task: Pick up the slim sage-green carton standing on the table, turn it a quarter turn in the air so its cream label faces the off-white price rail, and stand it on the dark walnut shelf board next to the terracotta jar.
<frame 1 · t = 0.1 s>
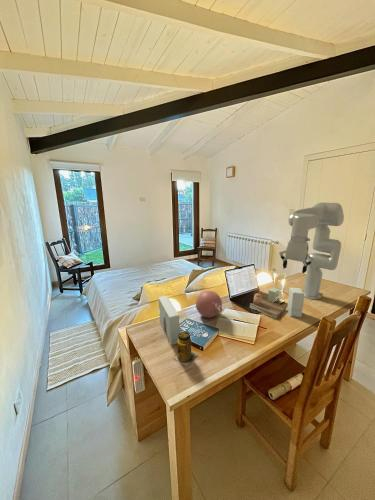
hand: (293, 270, 114), 31 cm above the table, fingers open, 9 cm apart
carton: (272, 300, 145), on the table
skincare box: (293, 313, 130), on the table
skincare box 2: (168, 332, 112), on the table
condiment: (185, 357, 95), on the table
shelf: (267, 308, 134), on the table
pink ball: (210, 317, 125), on the table
jar: (257, 304, 136), point 2 cm above the table, touching shelf
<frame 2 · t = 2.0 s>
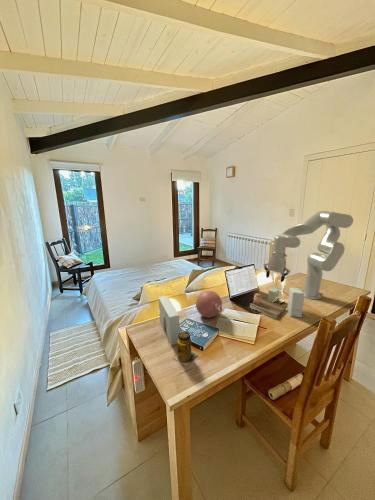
hand: (274, 279, 141), 16 cm above the table, fingers open, 9 cm apart
nothing on the table moved.
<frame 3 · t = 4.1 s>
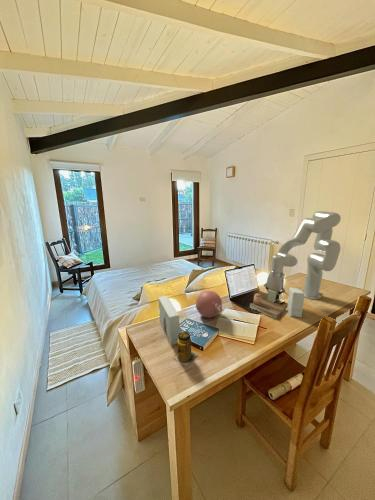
hand: (272, 297, 145), 2 cm above the table, fingers closed on carton, 4 cm apart
carton: (272, 300, 145), on the table, touching gripper
everything else where it was.
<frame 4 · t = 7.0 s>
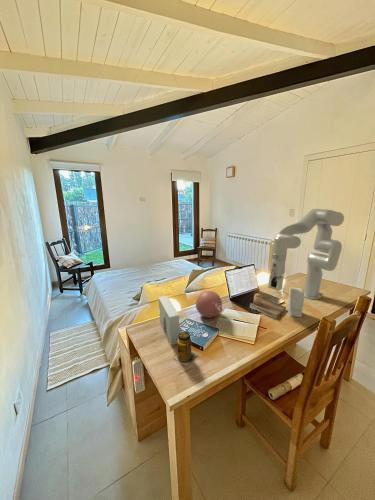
hand: (275, 285, 129), 17 cm above the table, fingers closed on carton, 4 cm apart
carton: (275, 288, 130), point 15 cm above the table, touching gripper
everything else where it was.
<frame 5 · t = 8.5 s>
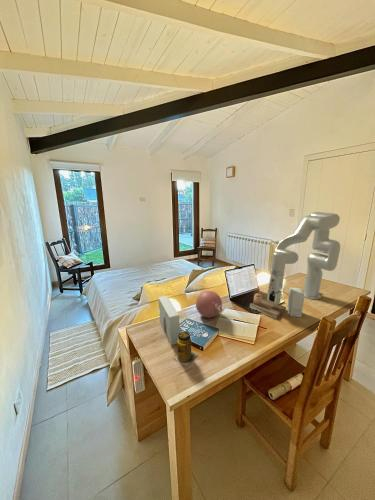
hand: (273, 299, 131), 7 cm above the table, fingers closed on carton, 4 cm apart
carton: (273, 301, 132), point 5 cm above the table, touching gripper
everything else where it was.
when the fingers open (5 cm above the table, at t = 9.7 s): carton drops 1 cm, resting on shelf.
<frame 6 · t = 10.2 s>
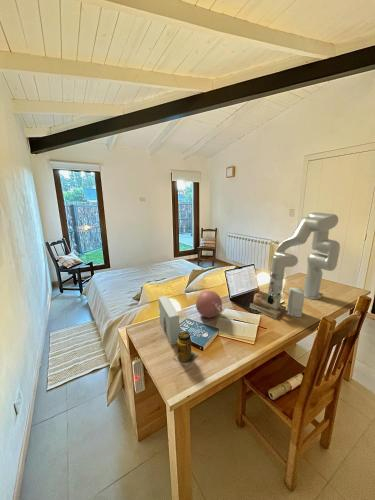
hand: (273, 300, 132), 6 cm above the table, fingers open, 9 cm apart
carton: (272, 306, 133), point 2 cm above the table, touching shelf
everything else where it was.
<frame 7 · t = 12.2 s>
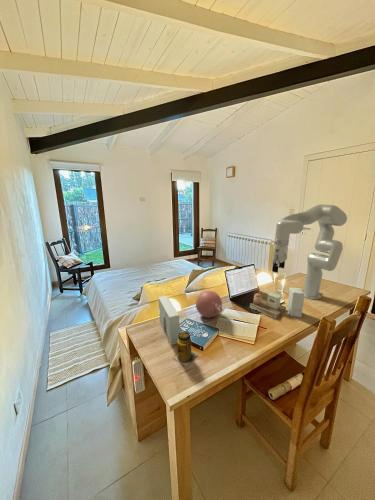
hand: (278, 269, 128), 26 cm above the table, fingers open, 9 cm apart
nothing on the table moved.
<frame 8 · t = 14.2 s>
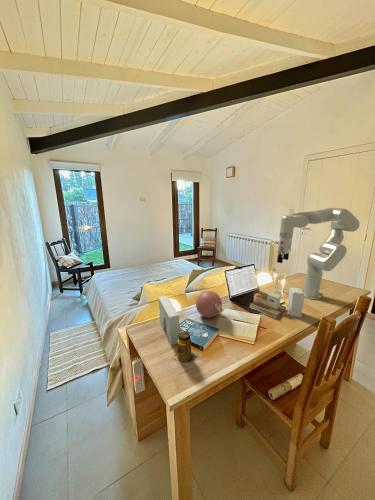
hand: (282, 261, 138), 28 cm above the table, fingers open, 9 cm apart
nothing on the table moved.
at the end: carton inside the target area (2.8 cm from its centre), point 2.0 cm above the table; carton tilted 0°; the gripper is holding nothing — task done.
